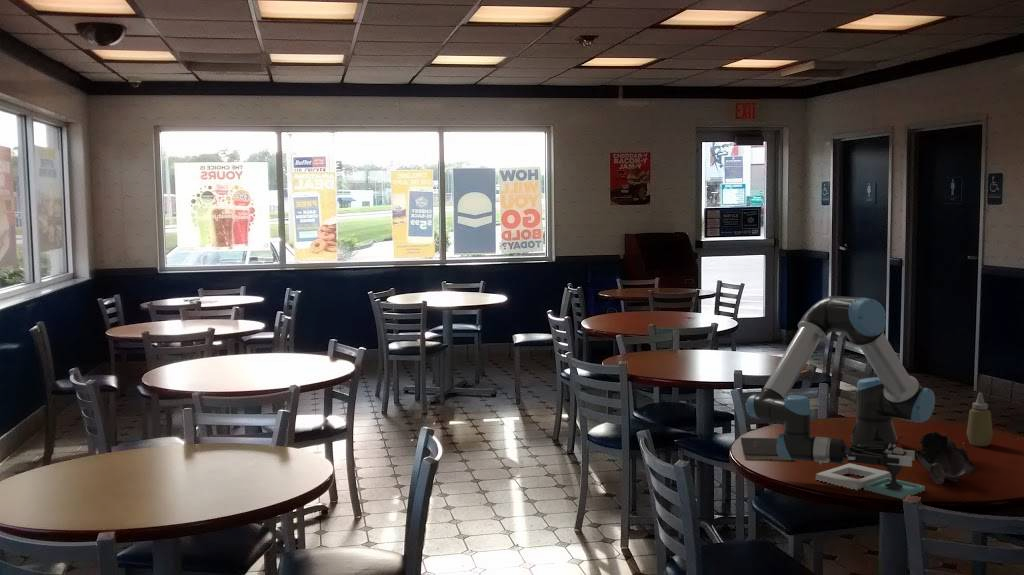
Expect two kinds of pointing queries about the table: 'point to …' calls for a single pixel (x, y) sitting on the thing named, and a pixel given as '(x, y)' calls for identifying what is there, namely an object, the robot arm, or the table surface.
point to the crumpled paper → (943, 458)
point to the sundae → (894, 449)
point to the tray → (894, 492)
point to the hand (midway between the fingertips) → (913, 458)
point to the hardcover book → (760, 448)
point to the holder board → (836, 478)
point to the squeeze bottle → (979, 423)
